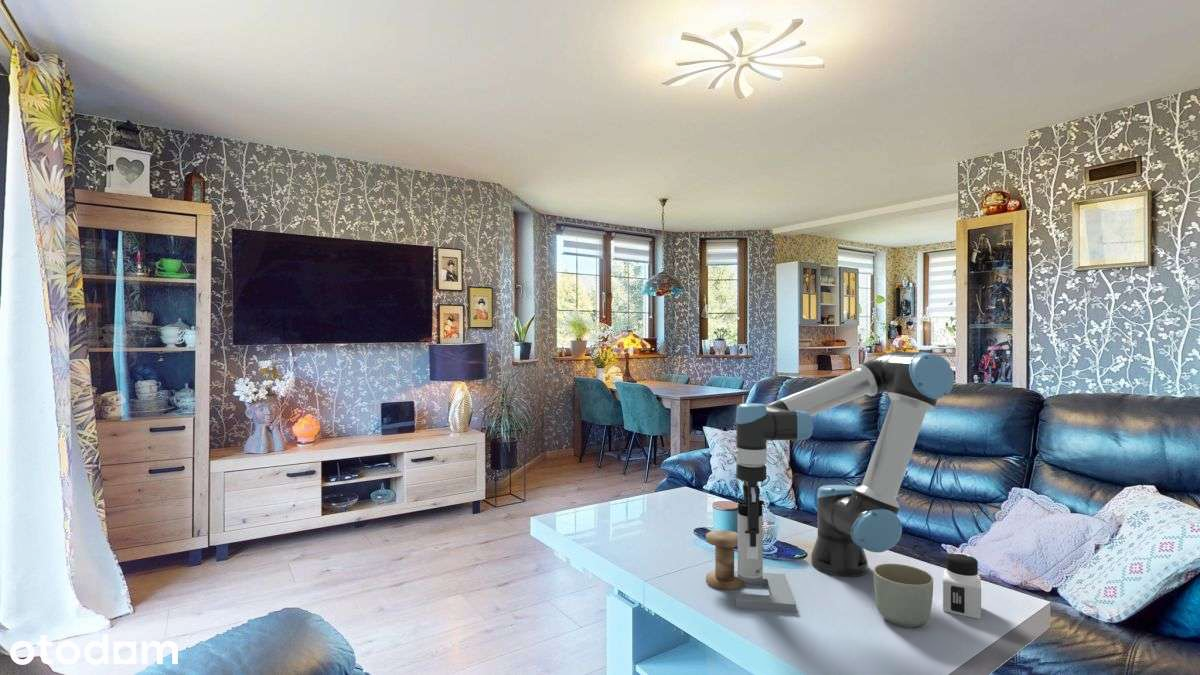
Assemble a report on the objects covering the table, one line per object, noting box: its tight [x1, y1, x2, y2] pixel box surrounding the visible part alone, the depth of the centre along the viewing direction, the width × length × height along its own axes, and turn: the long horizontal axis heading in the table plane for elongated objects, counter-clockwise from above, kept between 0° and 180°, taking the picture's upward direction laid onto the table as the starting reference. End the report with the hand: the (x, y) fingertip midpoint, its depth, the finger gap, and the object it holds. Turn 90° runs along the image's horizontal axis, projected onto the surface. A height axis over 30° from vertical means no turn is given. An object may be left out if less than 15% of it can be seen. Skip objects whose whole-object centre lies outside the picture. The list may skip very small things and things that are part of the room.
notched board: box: [734, 570, 797, 614], centre depth 150 cm, size 14×18×2 cm
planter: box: [873, 563, 934, 628], centre depth 136 cm, size 12×12×11 cm
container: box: [942, 552, 982, 620], centre depth 142 cm, size 8×8×13 cm
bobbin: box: [705, 529, 745, 591], centre depth 158 cm, size 10×10×12 cm
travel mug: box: [737, 499, 765, 583], centre depth 151 cm, size 6×7×20 cm
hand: (751, 553), depth 151 cm, fingers closed on travel mug, 6 cm apart
